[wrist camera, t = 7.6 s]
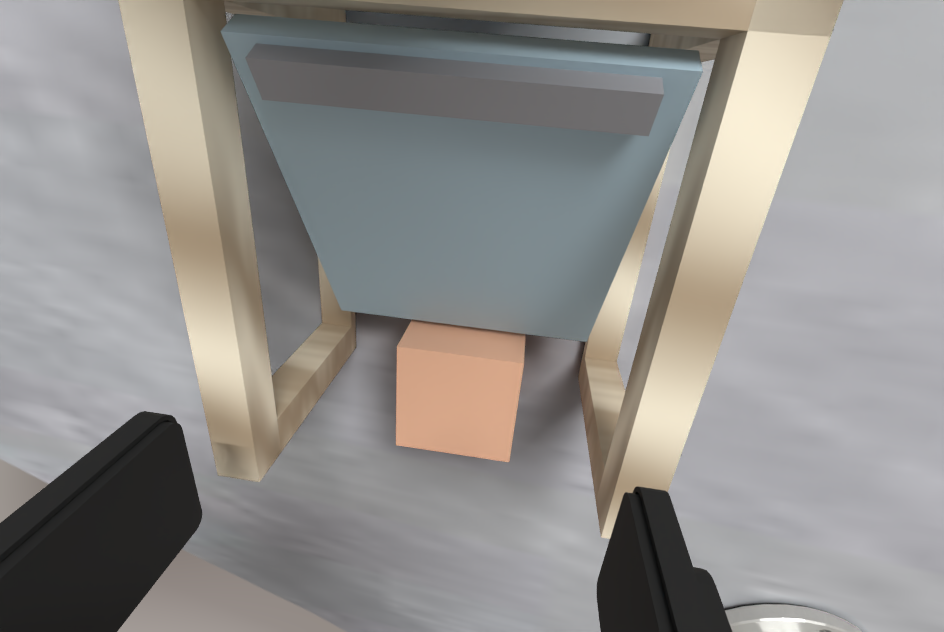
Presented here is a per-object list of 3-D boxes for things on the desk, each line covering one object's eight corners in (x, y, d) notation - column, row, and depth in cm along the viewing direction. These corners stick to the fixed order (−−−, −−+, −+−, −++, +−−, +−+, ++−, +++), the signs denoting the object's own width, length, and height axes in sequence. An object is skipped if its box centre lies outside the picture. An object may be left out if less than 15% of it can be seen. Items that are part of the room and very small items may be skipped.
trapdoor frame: (608, 381, 23) (648, 544, 15) (328, 343, 25) (217, 475, 16) (698, 17, 17) (865, -63, 8) (306, -13, 18) (95, -109, 9)
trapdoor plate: (586, 325, 20) (586, 354, 19) (346, 295, 21) (337, 321, 20) (698, 50, 10) (705, 88, 9) (235, 13, 11) (208, 45, 10)
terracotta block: (526, 309, 22) (514, 395, 25) (424, 296, 23) (421, 382, 25) (524, 363, 18) (509, 462, 20) (396, 346, 18) (395, 445, 21)
